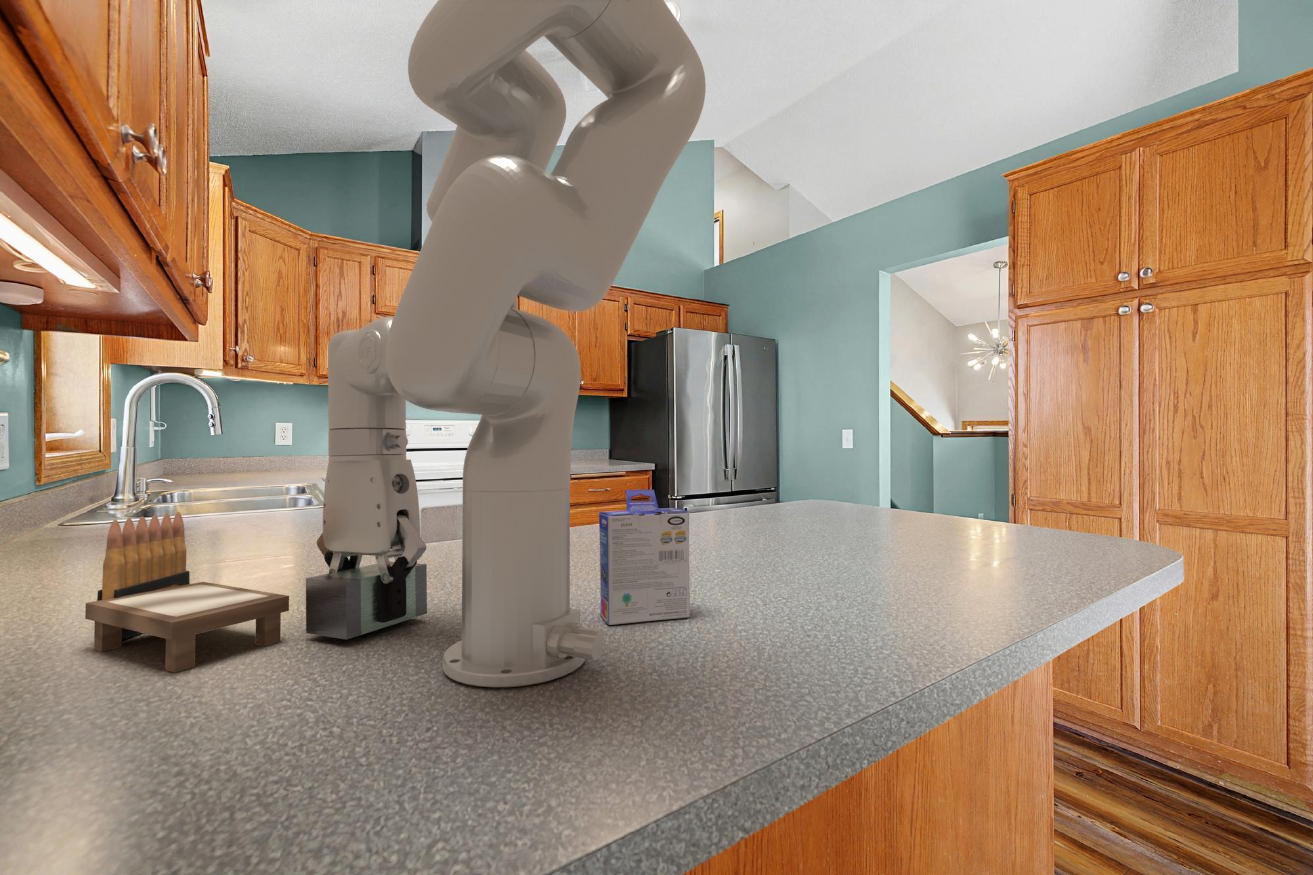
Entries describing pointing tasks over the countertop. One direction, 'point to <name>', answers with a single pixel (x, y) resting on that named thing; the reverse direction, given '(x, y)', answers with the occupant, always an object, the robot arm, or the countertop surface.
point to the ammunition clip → (144, 559)
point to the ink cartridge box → (644, 562)
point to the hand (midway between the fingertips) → (369, 614)
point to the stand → (186, 617)
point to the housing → (357, 601)
